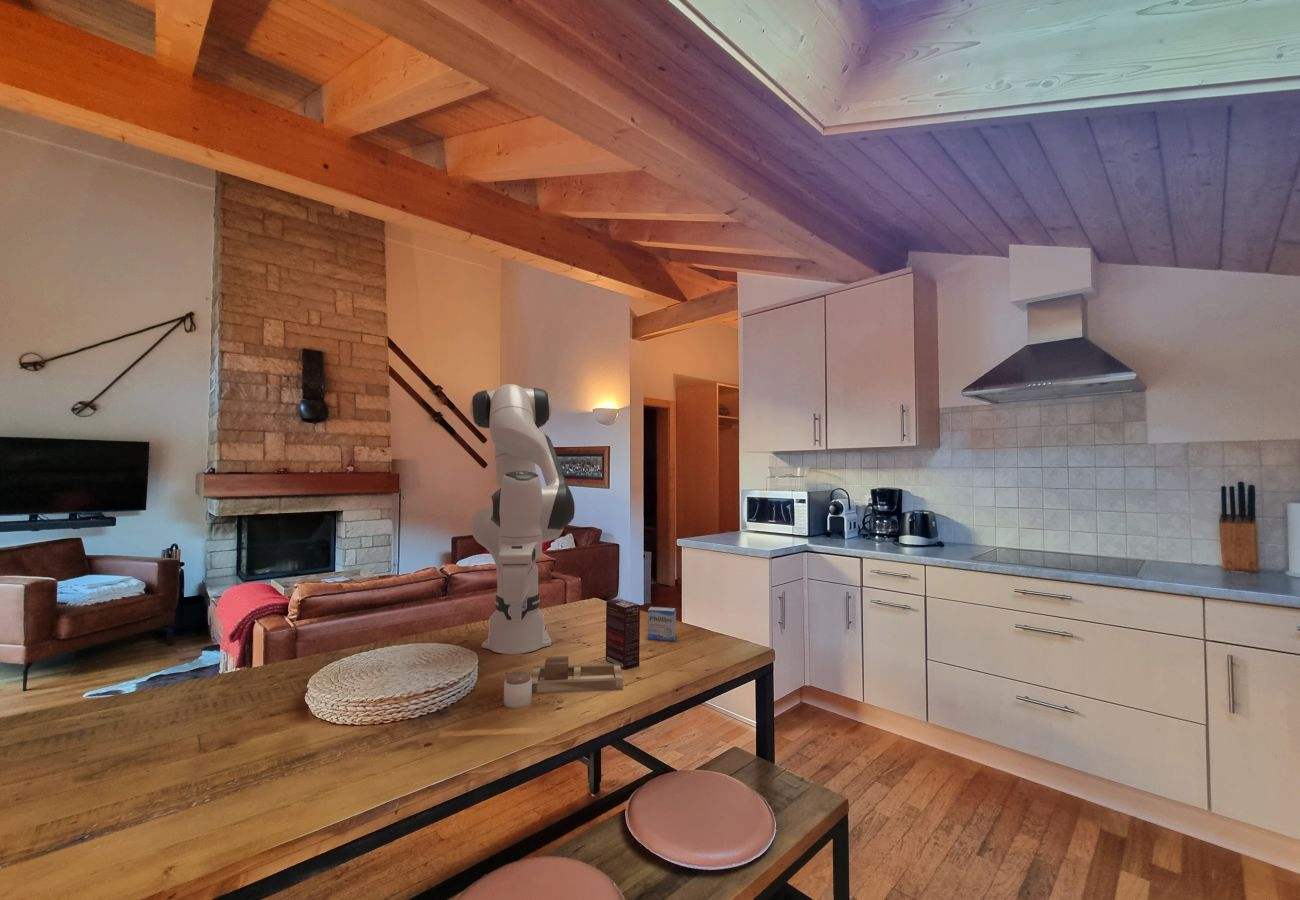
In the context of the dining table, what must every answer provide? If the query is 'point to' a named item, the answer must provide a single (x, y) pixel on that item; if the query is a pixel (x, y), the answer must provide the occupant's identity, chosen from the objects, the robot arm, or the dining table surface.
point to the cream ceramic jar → (517, 689)
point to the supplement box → (622, 633)
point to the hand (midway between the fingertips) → (519, 616)
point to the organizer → (580, 679)
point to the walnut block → (556, 668)
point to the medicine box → (661, 624)
